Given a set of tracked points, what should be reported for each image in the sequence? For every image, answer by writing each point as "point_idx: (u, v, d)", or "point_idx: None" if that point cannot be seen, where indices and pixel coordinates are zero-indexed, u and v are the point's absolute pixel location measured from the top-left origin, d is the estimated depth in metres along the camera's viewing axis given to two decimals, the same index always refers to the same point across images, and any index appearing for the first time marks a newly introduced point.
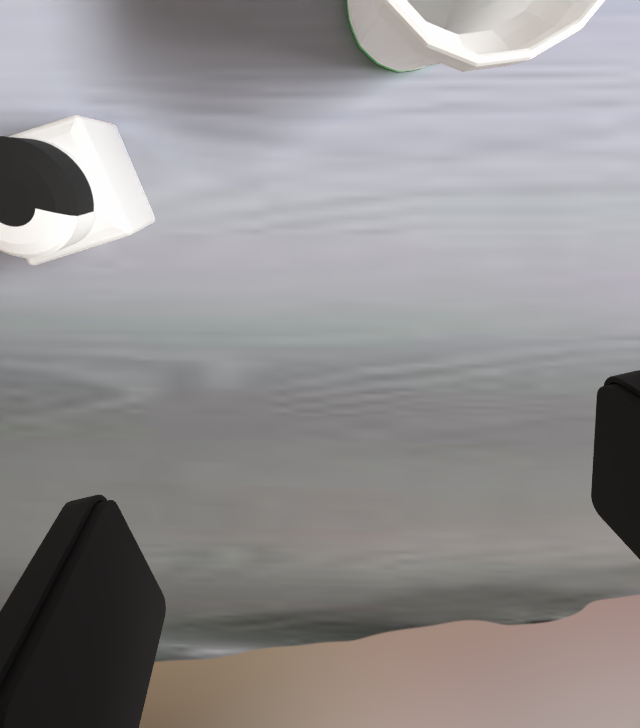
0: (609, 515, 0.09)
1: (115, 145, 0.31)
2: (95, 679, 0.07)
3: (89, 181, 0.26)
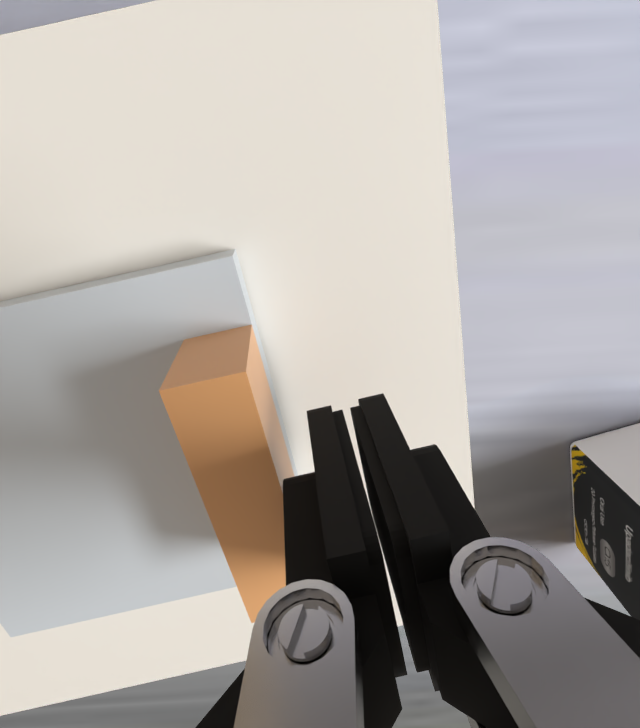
0: (374, 520, 0.10)
1: None
2: None
3: None
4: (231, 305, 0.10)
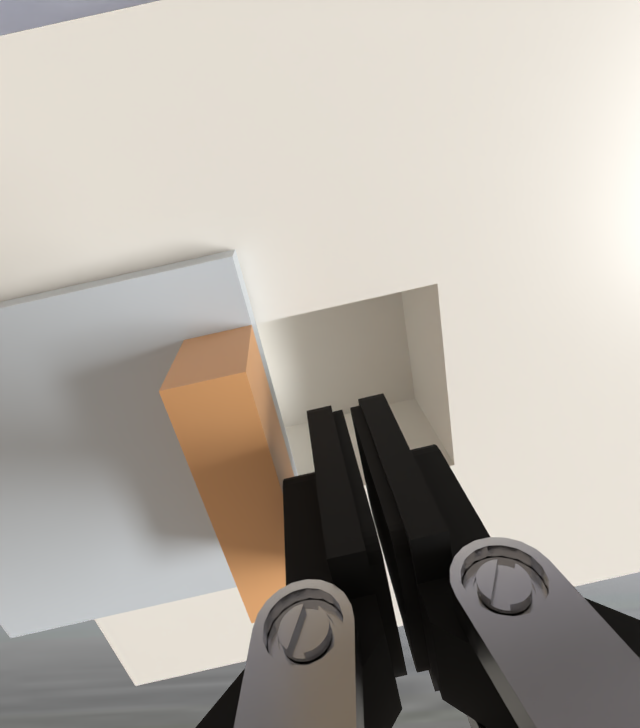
0: (374, 520, 0.10)
1: None
2: None
3: None
4: (231, 305, 0.10)
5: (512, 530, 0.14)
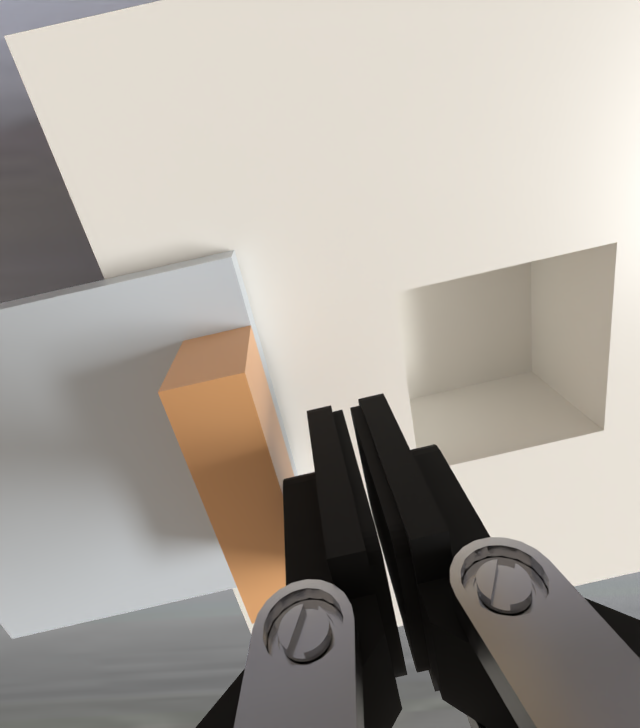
0: (374, 520, 0.10)
1: None
2: None
3: None
4: (230, 306, 0.10)
5: None
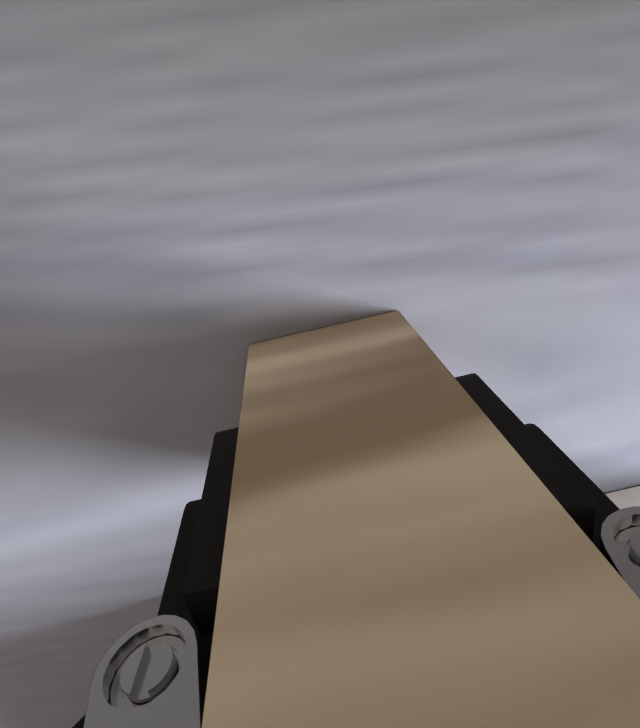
0: None
1: None
2: None
3: None
4: None
5: None
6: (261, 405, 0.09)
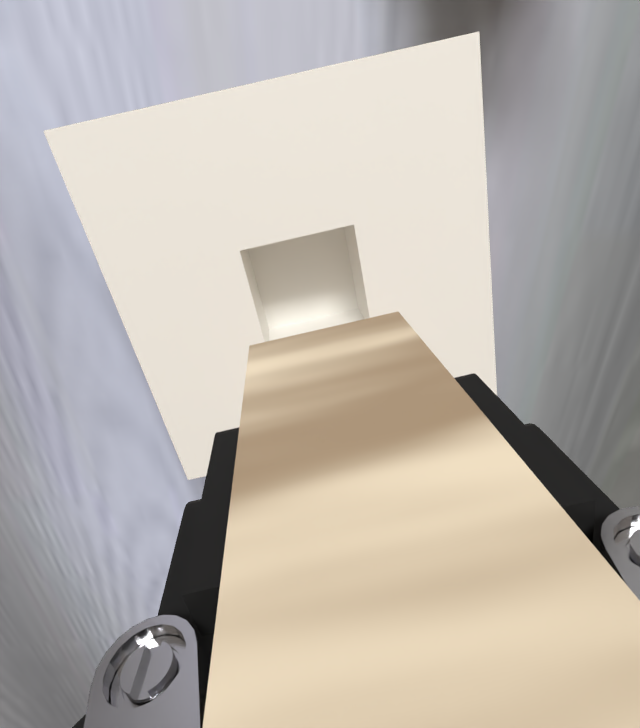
0: None
1: None
2: None
3: None
4: None
5: (414, 172, 0.20)
6: (262, 406, 0.09)
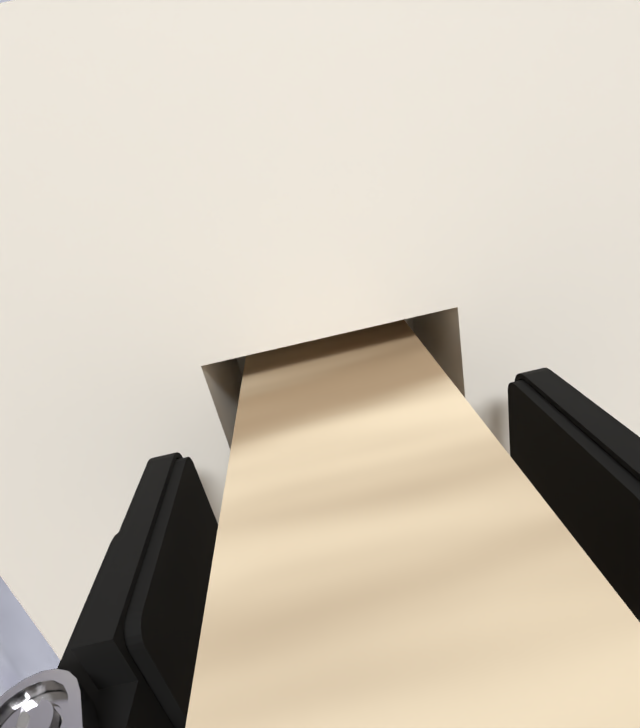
0: None
1: None
2: (191, 609, 0.07)
3: None
4: None
5: (606, 191, 0.09)
6: (260, 374, 0.10)
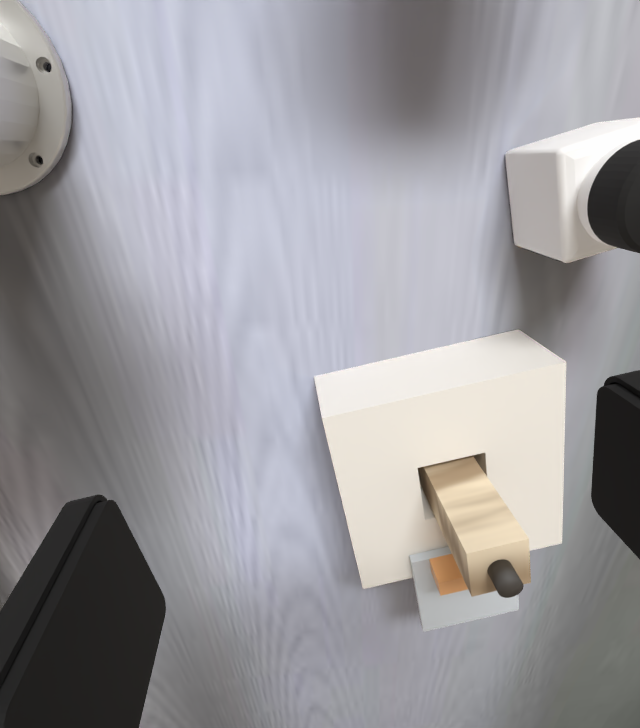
0: (609, 515, 0.09)
1: (543, 143, 0.31)
2: (95, 679, 0.07)
3: (635, 139, 0.26)
4: (423, 562, 0.38)
5: (523, 426, 0.35)
6: (430, 468, 0.36)
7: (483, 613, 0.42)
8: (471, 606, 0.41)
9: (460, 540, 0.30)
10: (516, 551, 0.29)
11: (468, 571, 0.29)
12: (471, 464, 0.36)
